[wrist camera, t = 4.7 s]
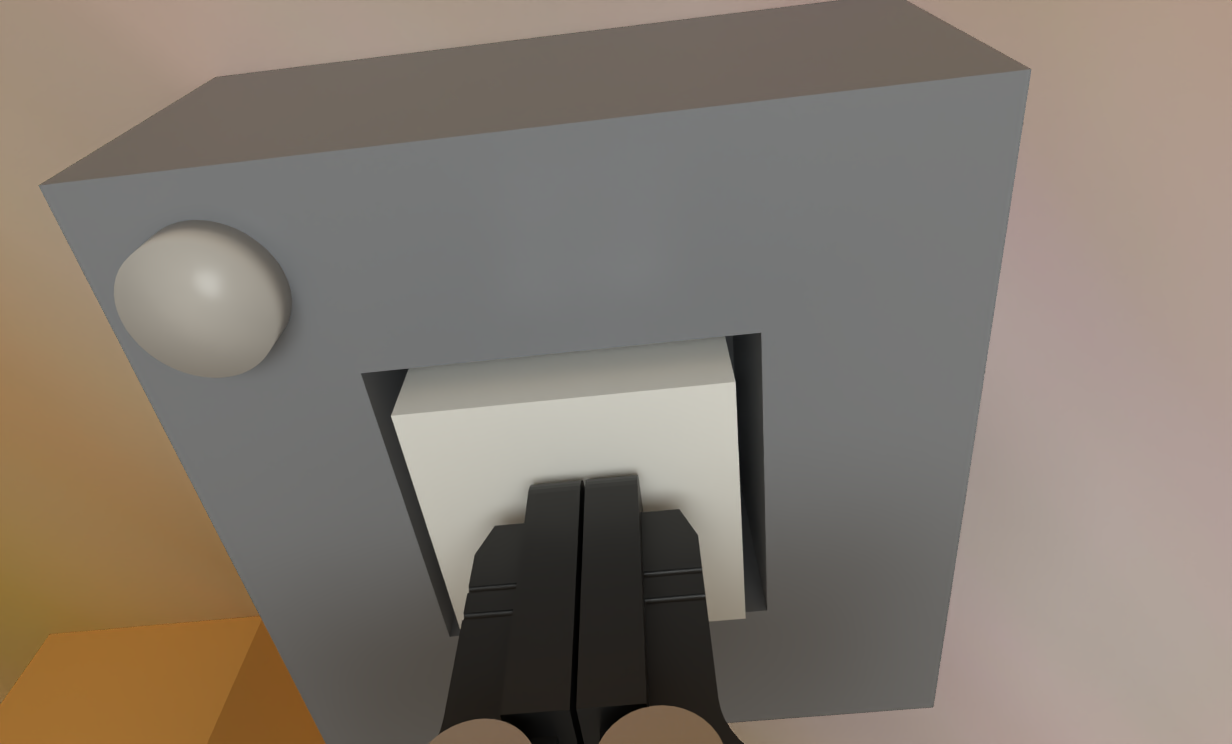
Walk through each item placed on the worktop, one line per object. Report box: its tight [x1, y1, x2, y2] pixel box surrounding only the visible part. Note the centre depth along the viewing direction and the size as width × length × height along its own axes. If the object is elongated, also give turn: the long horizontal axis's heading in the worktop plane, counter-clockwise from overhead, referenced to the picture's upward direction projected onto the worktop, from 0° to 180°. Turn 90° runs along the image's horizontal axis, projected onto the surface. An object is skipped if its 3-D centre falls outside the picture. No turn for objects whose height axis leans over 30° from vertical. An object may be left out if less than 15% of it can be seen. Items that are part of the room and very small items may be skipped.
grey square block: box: [39, 0, 1031, 744], centre depth 14 cm, size 11×11×6 cm
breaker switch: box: [391, 336, 746, 629], centre depth 13 cm, size 4×4×3 cm
